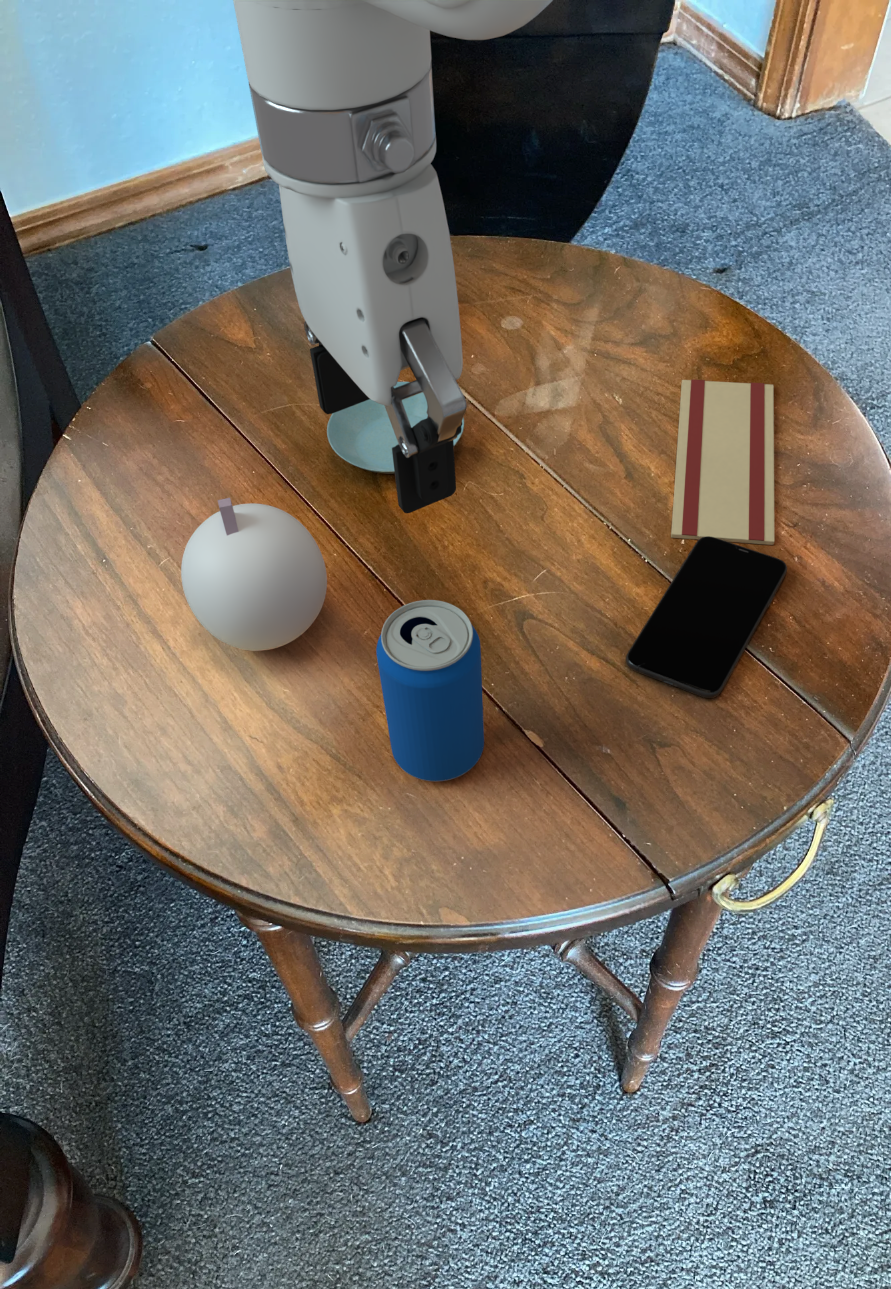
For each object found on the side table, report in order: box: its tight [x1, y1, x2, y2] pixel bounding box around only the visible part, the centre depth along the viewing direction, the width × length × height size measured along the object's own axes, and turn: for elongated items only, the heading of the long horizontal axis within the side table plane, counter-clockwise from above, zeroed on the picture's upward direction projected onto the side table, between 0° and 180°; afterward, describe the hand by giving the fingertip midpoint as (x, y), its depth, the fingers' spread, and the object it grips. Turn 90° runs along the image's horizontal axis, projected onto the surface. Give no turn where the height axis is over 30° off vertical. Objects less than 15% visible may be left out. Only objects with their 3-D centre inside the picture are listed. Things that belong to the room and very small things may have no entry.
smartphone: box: [625, 536, 788, 699], centre depth 80 cm, size 7×1×15 cm
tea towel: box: [670, 379, 775, 546], centre depth 91 cm, size 8×20×1 cm, turn 171°
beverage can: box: [375, 599, 485, 782], centre depth 70 cm, size 6×6×12 cm
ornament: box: [180, 497, 328, 652], centre depth 78 cm, size 10×10×12 cm
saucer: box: [326, 381, 465, 475], centre depth 93 cm, size 12×12×2 cm
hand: (386, 450), depth 60 cm, fingers open, 9 cm apart
